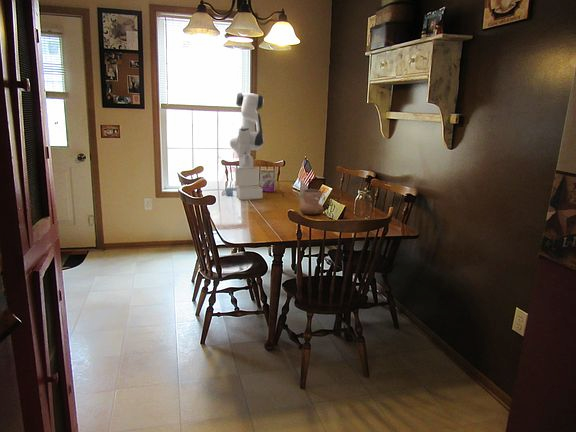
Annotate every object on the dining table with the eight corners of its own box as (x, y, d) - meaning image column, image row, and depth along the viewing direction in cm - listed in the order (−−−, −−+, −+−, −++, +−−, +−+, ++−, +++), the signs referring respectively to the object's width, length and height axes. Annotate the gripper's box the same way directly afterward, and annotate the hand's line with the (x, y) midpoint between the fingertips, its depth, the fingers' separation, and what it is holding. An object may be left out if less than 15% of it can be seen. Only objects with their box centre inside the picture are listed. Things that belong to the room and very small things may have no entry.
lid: (236, 186, 309) (235, 186, 311) (259, 185, 314) (258, 185, 316) (235, 167, 307) (235, 167, 309) (259, 167, 311) (258, 167, 313)
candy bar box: (259, 191, 330) (259, 169, 326) (260, 190, 335) (260, 168, 331) (274, 192, 329) (274, 170, 325) (275, 190, 334) (275, 169, 330)
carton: (236, 196, 312) (236, 186, 311) (258, 195, 317) (258, 185, 315) (239, 200, 301) (239, 190, 300) (262, 198, 306) (262, 189, 304)
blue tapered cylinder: (225, 194, 319) (225, 187, 318) (232, 194, 320) (232, 187, 319) (226, 195, 314) (226, 188, 313) (233, 195, 316) (233, 188, 314)
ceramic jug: (328, 216, 262) (329, 192, 259) (305, 217, 258) (305, 193, 254) (316, 209, 279) (317, 187, 275) (294, 211, 274) (295, 188, 271)
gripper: (251, 152, 307) (252, 172, 310) (245, 149, 326) (246, 168, 329) (243, 152, 305) (243, 172, 308) (237, 149, 324) (237, 168, 327)
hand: (244, 170), depth 319 cm, fingers closed
